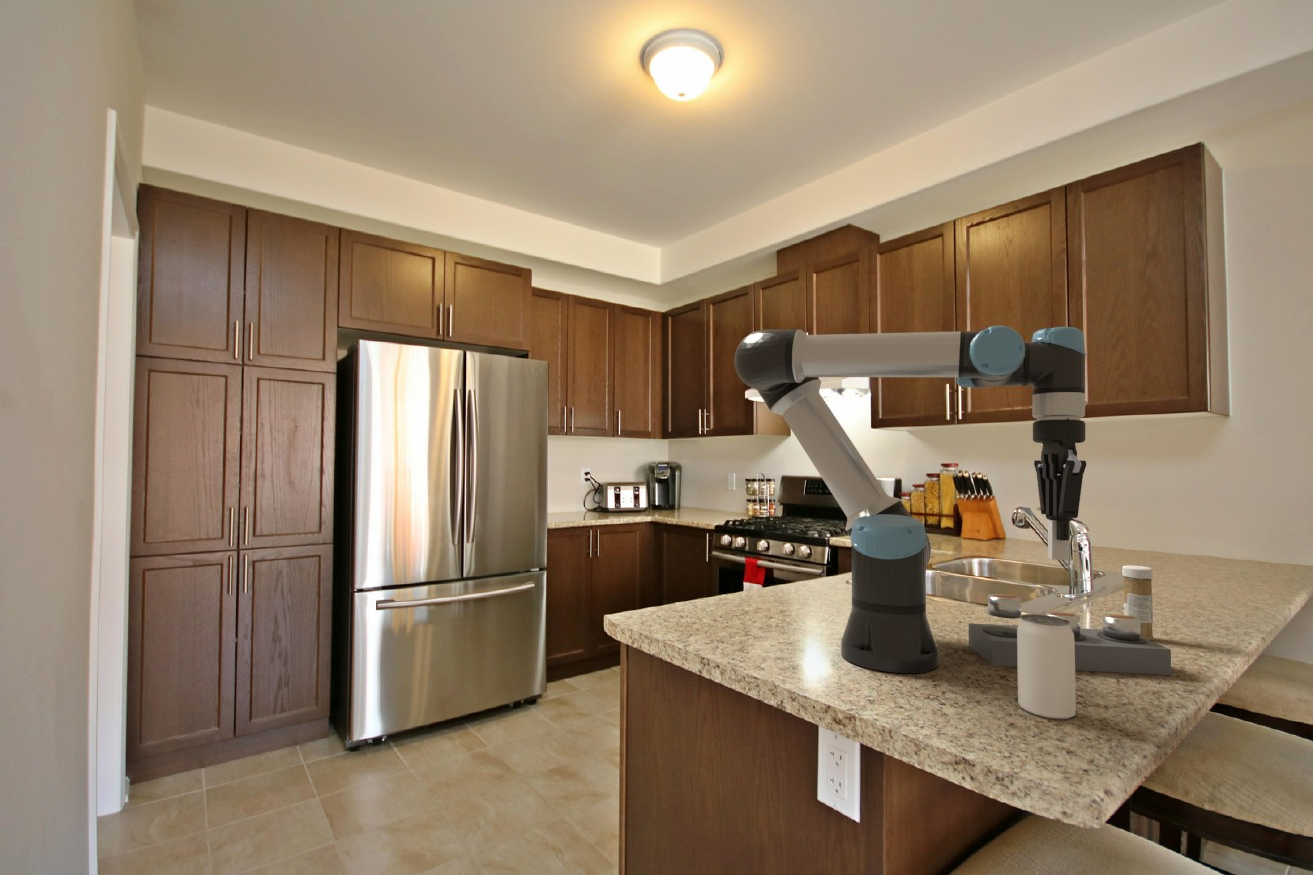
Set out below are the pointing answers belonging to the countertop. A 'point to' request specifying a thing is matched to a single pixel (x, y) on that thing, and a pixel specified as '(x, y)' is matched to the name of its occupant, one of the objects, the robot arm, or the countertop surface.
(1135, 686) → the countertop surface
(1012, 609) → the knob
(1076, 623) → the knob middle
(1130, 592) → the sprinkles bottle
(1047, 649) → the can
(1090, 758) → the countertop surface
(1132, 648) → the grey tray
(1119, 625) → the knob
